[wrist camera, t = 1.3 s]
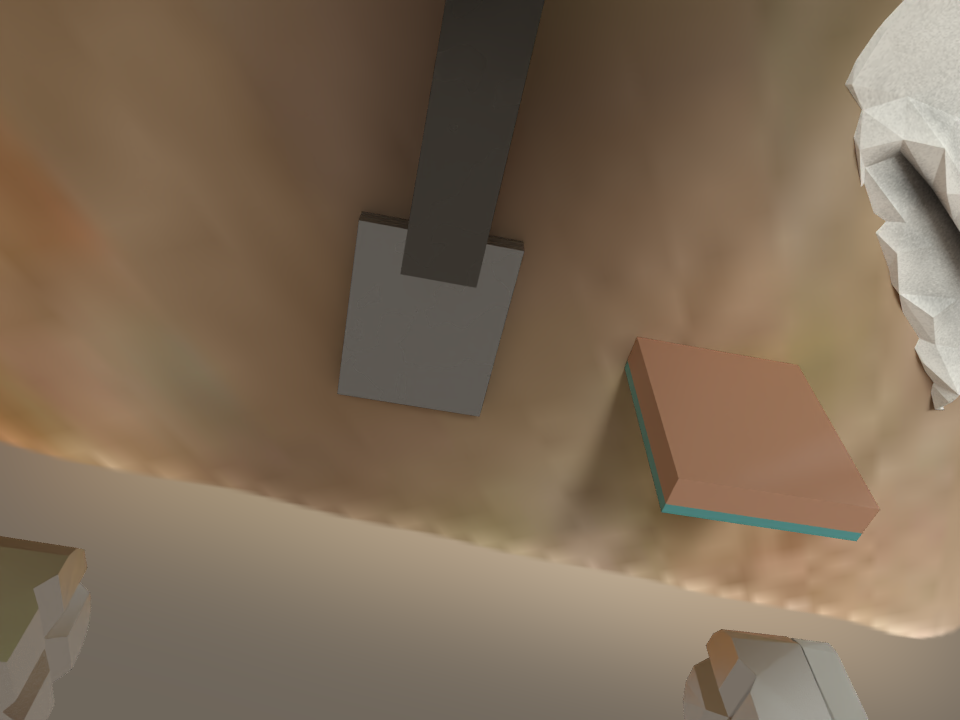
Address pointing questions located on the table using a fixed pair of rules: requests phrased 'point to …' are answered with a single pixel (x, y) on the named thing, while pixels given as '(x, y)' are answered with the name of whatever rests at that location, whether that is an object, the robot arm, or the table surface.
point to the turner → (445, 228)
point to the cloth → (917, 172)
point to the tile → (743, 442)
